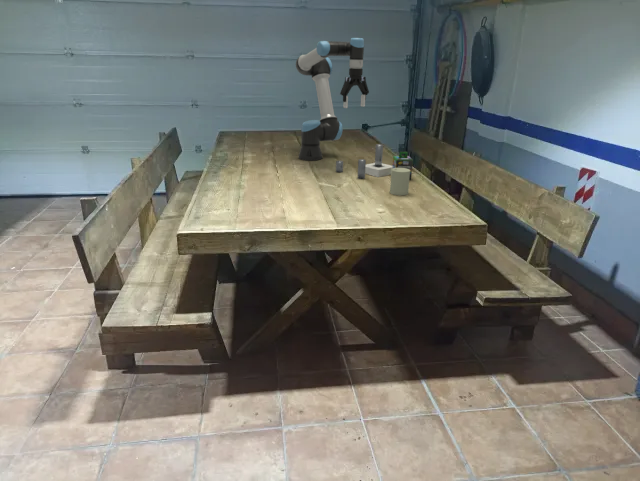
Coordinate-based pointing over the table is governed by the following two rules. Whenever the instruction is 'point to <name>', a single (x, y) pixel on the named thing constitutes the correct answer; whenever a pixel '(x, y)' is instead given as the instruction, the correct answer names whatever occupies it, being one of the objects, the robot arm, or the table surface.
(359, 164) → the medium pin
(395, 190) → the can
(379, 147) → the long pin
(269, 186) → the table surface
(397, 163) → the chalk box
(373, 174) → the socket block
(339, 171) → the short pin
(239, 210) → the table surface
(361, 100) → the robot arm
